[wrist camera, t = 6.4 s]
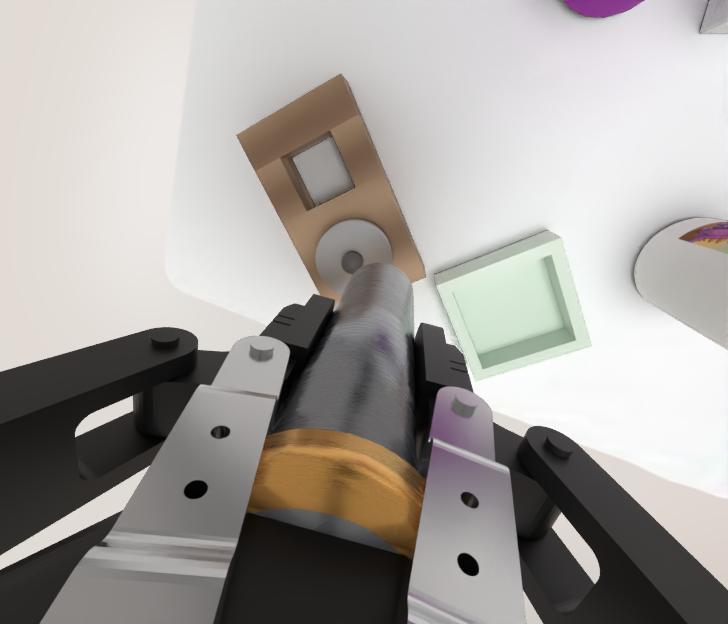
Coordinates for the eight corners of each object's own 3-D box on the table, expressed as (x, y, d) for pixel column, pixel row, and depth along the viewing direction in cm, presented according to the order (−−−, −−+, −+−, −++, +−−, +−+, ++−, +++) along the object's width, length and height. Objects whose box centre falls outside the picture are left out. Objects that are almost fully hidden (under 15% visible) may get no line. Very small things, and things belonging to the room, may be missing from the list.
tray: (433, 274, 33) (436, 285, 30) (547, 230, 30) (561, 237, 28) (470, 364, 36) (475, 381, 33) (576, 330, 33) (591, 346, 31)
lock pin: (346, 243, 15) (183, 450, 4) (433, 265, 15) (493, 534, 4) (329, 322, 17) (177, 625, 6) (409, 343, 17) (406, 688, 6)
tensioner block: (251, 137, 30) (218, 133, 25) (347, 81, 28) (333, 63, 23) (337, 302, 35) (324, 328, 30) (424, 267, 33) (427, 288, 28)
